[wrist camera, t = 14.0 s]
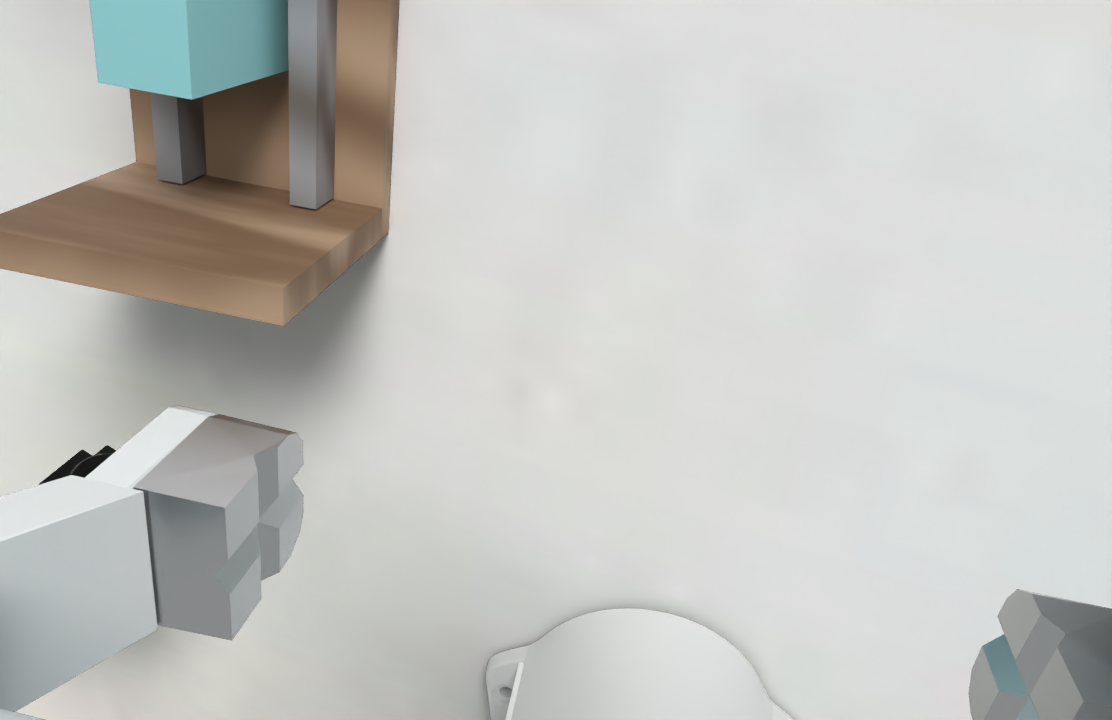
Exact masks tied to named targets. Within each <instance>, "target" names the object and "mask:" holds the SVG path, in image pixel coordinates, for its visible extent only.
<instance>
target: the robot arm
mask: <svg viewBox="0 0 1112 720" xmlns="http://www.w3.org/2000/svg"><path fill="white" fill-rule="evenodd" d="M302 466H303V440H302V439H301V438H300V437H299V435H298V434H297V433H296V432H291V431H287V430H283V429H279V428H275V427H270V426H266V425H262V424H258V423H254V422H249V421H245V420H241V419H237V418H233V417H228V416H224V415H220V414H218V415H216V414H214V413H211V412H207V411H202V410H197V409H193V408H188V407H183V406H174V407H168V408H167V409H165V410H164V411H163V412H162V413H161V414H159V415H158V416H157V417H156V418H155V419H154V420H152V421H151V422H150V423H149V424H148V425H146V426H145V427H144V428H143V429H142V430H141V431H139V432H138V433H137V434H136V435H135V436H133V437H132V438H131V439H130V440H129V441H128V442H126V443H125V444H124V445H123V446H122V447H120V448H119V449H118V450H117V451H116V452H114V453H113V454H112V455H111V456H110V457H109V458H107V459H106V460H105V461H104V462H103V463H101V464H100V465H99V466H98V467H97V468H96V469H94V470H93V471H92V472H91V473H90V474H88V475H87V476H86V477H85V478H83V477H78V476H73V475H70V476H67V477H63V478H60V479H57V480H53V481H50V482H47V483H43V484H40V485H37V486H33V487H30V488H27V489H23V490H20V491H17V492H13V493H10V494H7V495H3V496H0V720H45V719H41V718H37V717H33V716H29V715H25V714H21V713H17V712H15V711H17V710H19V709H21V708H22V707H24V706H26V705H28V704H29V703H31V702H33V701H34V700H36V699H38V698H40V697H41V696H43V695H45V694H47V693H48V692H50V691H52V690H53V689H55V688H57V687H59V686H60V685H62V684H64V683H66V682H67V681H69V680H71V679H73V678H74V677H76V676H78V675H79V674H81V673H83V672H85V671H86V670H88V669H90V668H92V667H93V666H95V665H97V664H98V663H100V662H102V661H104V660H105V659H107V658H109V657H111V656H112V655H114V654H116V653H117V652H119V651H121V650H123V649H124V648H126V647H128V646H130V645H131V644H133V643H135V642H137V641H138V640H140V639H142V638H143V637H145V636H147V635H149V634H150V633H152V632H154V631H156V630H157V629H158V625H160V626H165V627H170V628H175V629H179V630H184V631H189V632H194V633H199V634H203V635H208V636H213V637H218V638H223V639H227V640H233V638H234V637H235V636H236V634H237V633H238V631H239V630H240V628H241V627H242V626H243V624H244V623H245V621H246V620H247V618H248V617H249V615H250V614H251V613H252V611H253V610H254V608H255V607H256V605H257V604H258V603H259V601H260V600H261V580H264V579H266V578H268V577H270V576H272V575H274V574H276V573H279V572H280V571H281V569H282V568H283V566H284V565H285V563H286V562H287V560H288V559H289V557H290V556H291V553H292V551H293V548H294V546H295V543H296V541H297V538H298V535H299V533H300V528H301V523H302V517H303V496H304V495H303V494H302V492H301V491H300V489H299V488H298V486H297V485H296V484H295V482H294V481H293V477H294V476H295V475H296V473H297V472H298V471H299V470H300V468H301V467H302ZM998 619H999V622H1000V624H1001V627H1002V629H1003V632H1004V635H1002V636H1000V637H998V638H996V639H994V640H993V641H991V642H989V643H987V644H985V645H983V646H982V648H981V650H980V652H979V654H978V657H977V659H976V661H975V663H974V665H973V668H972V672H971V680H970V687H969V702H970V711H971V716H972V719H973V720H1112V609H1111V608H1106V607H1101V606H1096V605H1092V604H1087V603H1082V602H1077V601H1072V600H1067V599H1063V598H1058V597H1053V596H1048V595H1043V594H1038V593H1034V592H1029V591H1024V590H1019V589H1017V590H1016V591H1015V592H1014V593H1012V594H1011V595H1010V596H1009V597H1008V598H1007V599H1006V601H1005V603H1004V605H1003V607H1002V608H1001V610H1000V612H999V614H998ZM486 685H487V693H488V701H489V709H490V717H491V720H794V719H793V718H791V717H790V716H789V715H788V714H787V713H786V712H784V711H783V710H782V709H781V708H780V707H778V706H777V705H776V704H774V703H773V702H772V701H771V699H770V698H769V696H768V695H767V693H766V691H765V689H764V687H763V685H762V683H761V681H760V679H759V677H758V675H757V673H756V671H755V670H754V668H753V667H752V665H751V664H750V663H749V662H748V660H747V659H746V658H745V657H744V656H743V655H742V654H741V653H740V651H739V650H737V649H736V648H735V647H734V646H733V645H732V644H731V643H729V642H728V641H727V640H725V639H724V638H723V637H721V636H720V635H718V634H717V633H715V632H713V631H711V630H710V629H708V628H706V627H704V626H702V625H700V624H698V623H695V622H693V621H691V620H688V619H685V618H682V617H679V616H676V615H672V614H668V613H664V612H659V611H654V610H646V609H632V608H622V609H608V610H601V611H596V612H591V613H588V614H584V615H581V616H578V617H575V618H573V619H571V620H568V621H566V622H564V623H562V624H561V625H559V626H557V627H556V628H554V629H553V630H551V631H550V632H549V633H547V634H546V635H545V636H543V637H542V638H541V639H539V640H538V641H536V642H534V643H532V644H530V645H528V646H523V647H519V648H514V649H510V650H506V651H503V652H500V653H498V654H496V655H494V656H492V657H491V658H490V659H489V661H488V665H487V671H486Z"/></svg>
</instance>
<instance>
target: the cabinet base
mask: <svg viewBox="0 0 1112 720" xmlns="http://www.w3.org/2000/svg"><path fill="white" fill-rule="evenodd" d="M398 17H399V0H288V59H289V70H287V71H284V72H281V73H277V74H274V75H271V76H268V77H264V78H261V79H258V80H255V81H251V82H248V83H245V84H241V85H238V86H235V87H232V88H228V89H225V90H222V91H218V92H215V93H212V94H209V95H205V96H202V97H199V98H196V99H192V100H191V99H186V98H180V97H175V96H169V95H164V94H158V93H153V92H147V91H142V90H136V89H131V88H130V98H131V109H132V120H133V131H134V142H135V152H136V162H135V163H133V164H130V165H127V166H125V167H122V168H120V169H117V170H114V171H112V172H109V173H107V174H104V175H101V176H99V177H96V178H93V179H91V180H88V181H86V182H83V183H80V184H78V185H75V186H73V187H70V188H67V189H65V190H62V191H60V192H57V193H54V194H52V195H49V196H47V197H44V198H41V199H39V200H36V201H33V202H31V203H28V204H26V205H23V206H20V207H18V208H15V209H13V210H10V211H7V212H5V213H2V214H0V268H1V269H5V270H10V271H15V272H20V273H25V274H30V275H35V276H40V277H45V278H50V279H55V280H59V281H64V282H69V283H74V284H79V285H84V286H89V287H94V288H99V289H104V290H109V291H113V292H118V293H123V294H128V295H133V296H138V297H143V298H148V299H153V300H158V301H163V302H167V303H172V304H177V305H182V306H187V307H192V308H197V309H202V310H207V311H212V312H216V313H221V314H226V315H231V316H236V317H241V318H246V319H251V320H256V321H261V322H266V323H270V324H275V325H280V326H284V325H286V324H287V323H288V322H289V321H290V320H291V319H292V318H293V317H295V316H296V315H297V314H298V313H299V312H300V311H301V310H302V309H304V308H305V307H306V306H307V305H308V304H309V303H310V302H311V301H312V300H314V299H315V298H316V297H317V296H318V295H319V294H320V293H321V292H323V291H324V290H325V289H326V288H327V287H328V286H329V285H330V284H332V283H333V282H334V281H335V280H336V279H337V278H338V277H339V276H341V275H342V274H343V273H344V272H345V271H346V270H347V269H348V268H350V267H351V266H352V265H353V264H354V263H355V262H356V261H357V260H358V259H360V258H361V257H362V256H363V255H364V254H365V253H366V252H367V251H369V250H370V249H371V248H372V247H373V246H374V245H375V244H376V243H378V242H379V241H380V240H381V239H382V238H383V237H384V236H385V235H387V234H388V229H389V207H390V186H391V165H392V144H393V123H394V101H395V80H396V59H397V38H398Z"/></svg>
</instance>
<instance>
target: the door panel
mask: <svg viewBox="0 0 1112 720" xmlns="http://www.w3.org/2000/svg"><path fill="white" fill-rule="evenodd" d="M89 1H90V11H91V20H92V29H93V39H94V48H95V57H96V67H97V76H98V83H104V84H109V85H115V86H120V87H126V88H131V89H136V90H142V91H147V92H153V93H158V94H164V95H169V96H175V97H180V98H186V99H191V100H192V99H196V98H199V97H202V96H205V95H209V94H212V93H215V92H218V91H222V90H225V89H228V88H232V87H235V86H238V85H241V84H245V83H248V82H251V81H255V80H258V79H261V78H264V77H268V76H271V75H274V74H277V73H281V72H284V71H287V70H289V59H288V0H89Z"/></svg>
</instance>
